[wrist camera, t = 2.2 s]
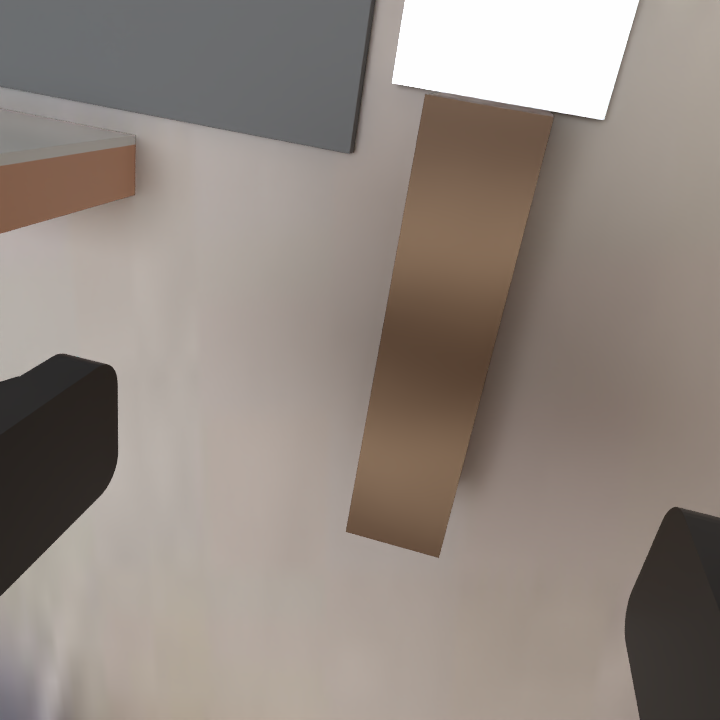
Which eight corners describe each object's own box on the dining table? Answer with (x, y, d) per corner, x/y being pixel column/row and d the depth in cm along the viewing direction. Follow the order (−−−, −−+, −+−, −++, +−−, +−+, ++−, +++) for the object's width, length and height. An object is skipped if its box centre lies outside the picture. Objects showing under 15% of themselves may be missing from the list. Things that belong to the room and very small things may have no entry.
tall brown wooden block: (493, 489, 24) (486, 571, 20) (337, 448, 25) (300, 519, 21) (674, -136, 16) (723, -207, 12) (437, -164, 17) (410, -239, 13)
